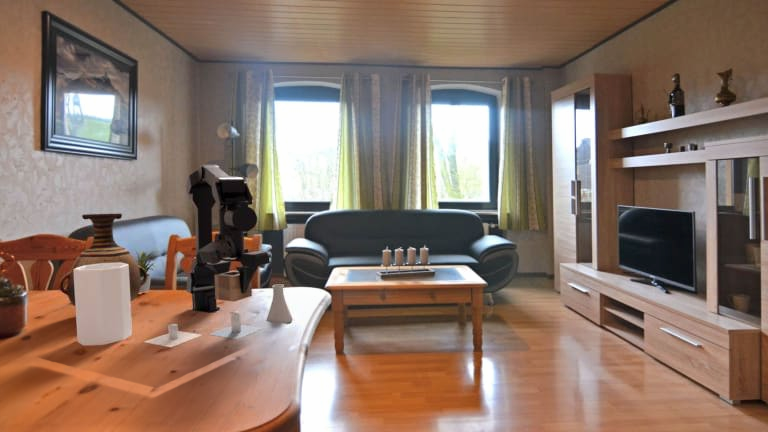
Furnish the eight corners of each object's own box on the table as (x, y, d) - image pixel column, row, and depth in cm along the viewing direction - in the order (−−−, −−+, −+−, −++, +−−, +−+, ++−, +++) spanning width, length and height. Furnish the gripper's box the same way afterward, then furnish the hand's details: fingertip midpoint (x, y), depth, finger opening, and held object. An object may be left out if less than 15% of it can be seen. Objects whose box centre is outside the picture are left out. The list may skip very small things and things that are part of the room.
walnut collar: (233, 293, 115) (232, 270, 114) (251, 296, 112) (251, 272, 112) (215, 299, 109) (214, 274, 109) (234, 301, 107) (233, 276, 106)
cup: (74, 354, 101) (69, 272, 100) (81, 339, 111) (76, 265, 110) (131, 345, 106) (127, 267, 105) (133, 332, 116) (129, 260, 115)
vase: (56, 328, 121) (49, 216, 119) (71, 311, 137) (65, 213, 135) (146, 317, 129) (141, 213, 127) (150, 303, 146) (145, 210, 144)
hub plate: (208, 339, 109) (207, 314, 109) (235, 328, 118) (235, 305, 117) (237, 344, 106) (236, 318, 105) (263, 332, 114) (262, 308, 113)
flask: (286, 326, 119) (285, 288, 118) (260, 325, 120) (259, 288, 120) (296, 318, 126) (295, 283, 125) (272, 317, 128) (271, 282, 127)
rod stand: (143, 346, 105) (142, 328, 104) (176, 335, 113) (175, 317, 113) (170, 352, 101) (169, 333, 101) (202, 339, 109) (201, 322, 109)
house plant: (173, 287, 169) (171, 244, 168) (155, 296, 155) (153, 249, 154) (135, 288, 168) (132, 245, 167) (113, 297, 155) (111, 250, 154)
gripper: (176, 231, 107) (179, 296, 108) (236, 233, 99) (239, 303, 99) (213, 227, 117) (215, 286, 118) (270, 228, 109) (272, 292, 109)
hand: (233, 292), depth 111 cm, fingers closed on walnut collar, 6 cm apart
